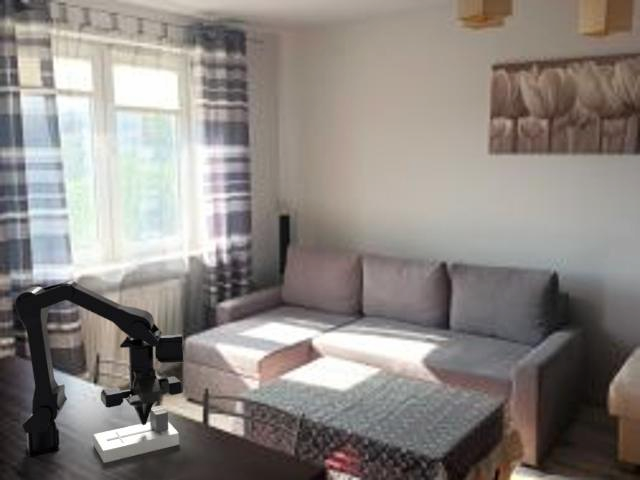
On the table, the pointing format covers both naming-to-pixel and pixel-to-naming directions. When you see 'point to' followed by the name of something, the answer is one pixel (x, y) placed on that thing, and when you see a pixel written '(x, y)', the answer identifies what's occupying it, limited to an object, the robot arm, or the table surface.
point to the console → (133, 441)
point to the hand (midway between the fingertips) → (143, 424)
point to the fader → (159, 418)
